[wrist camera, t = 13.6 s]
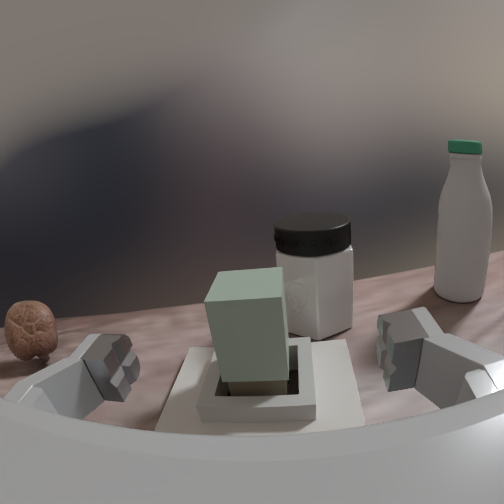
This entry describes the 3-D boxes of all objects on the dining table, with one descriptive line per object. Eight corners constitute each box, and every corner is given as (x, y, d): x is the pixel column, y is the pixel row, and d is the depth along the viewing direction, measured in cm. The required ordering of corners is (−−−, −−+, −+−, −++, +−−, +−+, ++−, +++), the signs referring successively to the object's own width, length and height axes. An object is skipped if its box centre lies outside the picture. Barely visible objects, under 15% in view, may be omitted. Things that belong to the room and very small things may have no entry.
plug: (291, 375, 28) (282, 266, 25) (291, 414, 23) (281, 296, 20) (238, 377, 29) (218, 271, 25) (230, 415, 24) (204, 301, 21)
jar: (266, 328, 37) (253, 227, 33) (302, 298, 43) (295, 210, 39) (336, 348, 31) (334, 235, 27) (364, 311, 37) (365, 213, 33)
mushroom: (76, 350, 35) (54, 294, 32) (52, 378, 29) (24, 319, 27) (39, 345, 36) (18, 294, 34) (15, 370, 30) (-11, 316, 28)
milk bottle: (492, 300, 33) (504, 143, 26) (445, 307, 34) (453, 139, 27) (468, 276, 40) (473, 140, 33) (425, 282, 41) (426, 138, 35)
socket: (345, 348, 31) (345, 324, 30) (364, 439, 19) (369, 414, 19) (192, 356, 33) (186, 333, 32) (158, 440, 22) (146, 417, 21)
